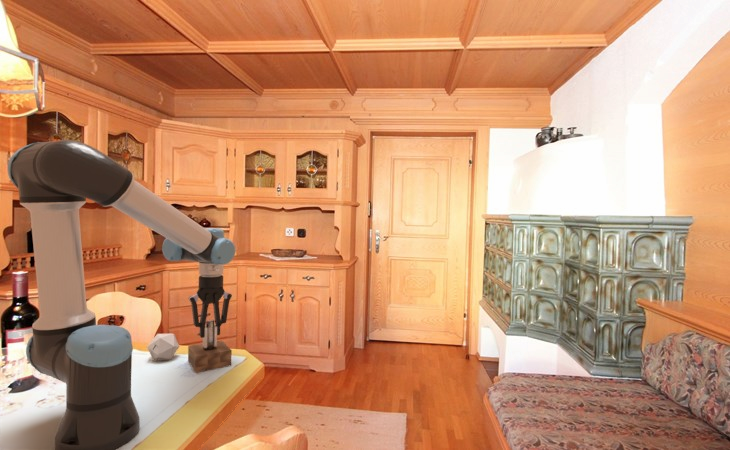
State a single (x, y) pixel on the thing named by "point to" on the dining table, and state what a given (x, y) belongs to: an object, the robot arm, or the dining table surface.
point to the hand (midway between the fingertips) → (209, 345)
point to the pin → (210, 334)
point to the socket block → (209, 357)
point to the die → (163, 346)
